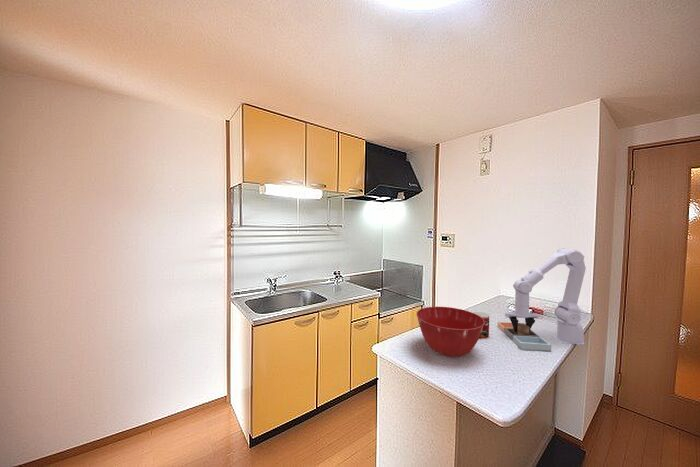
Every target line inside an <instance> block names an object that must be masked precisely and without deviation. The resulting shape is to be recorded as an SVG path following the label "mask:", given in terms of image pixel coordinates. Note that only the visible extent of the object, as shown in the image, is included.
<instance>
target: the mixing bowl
mask: <svg viewBox="0 0 700 467" xmlns="http://www.w3.org/2000/svg"><path fill="white" fill-rule="evenodd" d="M416 317H417V320H418V324H419V329H420V331H421V334H422V336H423V339H424V340H425V342H426V343H425V344H426V345H427V346H428V347H429V348H430V349H431V350H432V351H434V353H436V354H439V355H440V356H444V357H449V358H460V357H464V356H465V355H468V354H469V353H470V352H472V351H473V349H474V348H475V346H476V345H477V343H478V341H479V337H480V334H481V332H482V329H483V326H484V324H485V321H484V319H483V318H482V317H480V316H479V315H477V314H475V313H474V312H471V311H469V310H465V309H462V308H456V307H452V306H451V307H449V306H429V307H428V306H426V307H423V308H420V309H418V310H417V311H416Z"/></svg>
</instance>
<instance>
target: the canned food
mask: <svg viewBox="0 0 700 467" xmlns="http://www.w3.org/2000/svg"><path fill="white" fill-rule="evenodd" d="M473 313H475V314H477V315H479V316H480V317H482V318H483V319H484V321H485V324H484V326H483V329H482V332H481V334H480V337H479V339H481V340H482V339H487V338H490V314H488V313H486V312H482V311H473ZM479 339H478V340H479Z"/></svg>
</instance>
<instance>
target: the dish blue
mask: <svg viewBox="0 0 700 467" xmlns="http://www.w3.org/2000/svg"><path fill="white" fill-rule="evenodd" d="M512 342H513V343H514V344H515V345H516V346H518V349H520V350H522V351H535V352H536V351H537V352H538V351H539V352H552V344H551V343H549V342H548V341H547V340H545V339H544V338H543V337H542V336H540V337H529V336H513V340H512Z"/></svg>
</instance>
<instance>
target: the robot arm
mask: <svg viewBox="0 0 700 467" xmlns="http://www.w3.org/2000/svg"><path fill="white" fill-rule="evenodd" d="M584 260H585V255H583V253H582V252H580V251H579V250H577V249H568V248H567V249H566V248H564V247H563V248H559V249H557V250H556V251H555V252H553V254H552V255H551V256H550V257H549V258H548V259H547V260H546V261H545V262H544V263H543V264H541V265H540V267H538V268H537V269H532V270H531V269H530V270H528V272H527V274H525V275H524V276H522V277H520V279H517V280H515V281H514V283H513V285H512V287H513V288H514V290H515V292H514V293H515V295H514V297H515V299H514V300H515V301H514V311H511V312H510V311H508V312H504V317H506V318H509V320H510V323H512V325H513V329H514V332H516V333H517V326H518V323H519V322H520V321H519V318H522V319H524V324H526V325H527V326H529V332H530V330H532V327H533V325H534V324H535V323H536V320H539V319H540V315H539V314H538V313H531V312H530V293H532V290H533V288H534V286H536V285H537V284H538V283H539V282H541V281H542V280H543V279H544V276H545V274H547V273H549V272H550V271H551V270H552V269H554V268H555V267H557V266H558V265H565V266H567V268H568V269H569V271H568V276H567V280H566V286H565V289H564V294H563V298H562V300H561V301H560V302H558V303H557V306H556V307H555V309H554V311H553V312H554V315H555V317H556V318H557V321H556V322H557V323H556V325H557V327H556V330H557V331H556V332H557V333H556V335H552V337H554V338H555V339H556V340H558V341H559V342H560V343H562V344H572V345H586V344H585V342H584V340H585V338H584V337H585V336H584V335H585V330H584V329H585V328H584V327H583V324H581V320H582V317H581V309H580V307H579V306H578V302H579V297H580V293H581V290H582V286H583V281H584V277H585V274H586V269H587V268H586V263H585V261H584Z"/></svg>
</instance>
